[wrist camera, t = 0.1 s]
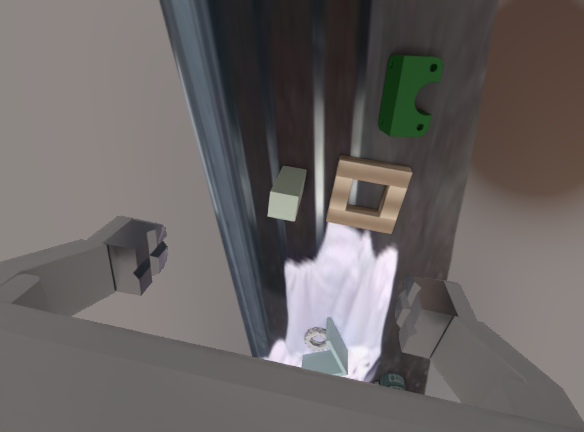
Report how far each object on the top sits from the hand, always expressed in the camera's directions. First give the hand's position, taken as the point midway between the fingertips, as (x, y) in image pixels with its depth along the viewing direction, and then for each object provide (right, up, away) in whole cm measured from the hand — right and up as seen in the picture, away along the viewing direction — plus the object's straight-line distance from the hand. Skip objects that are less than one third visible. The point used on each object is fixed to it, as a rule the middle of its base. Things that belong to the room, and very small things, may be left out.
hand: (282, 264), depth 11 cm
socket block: (+14, +6, +50) cm, 52 cm away
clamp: (+19, +21, +41) cm, 50 cm away
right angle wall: (+7, -29, +71) cm, 77 cm away
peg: (+1, +9, +50) cm, 51 cm away
